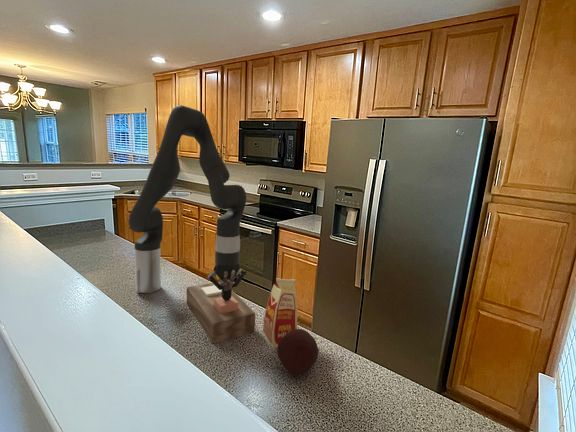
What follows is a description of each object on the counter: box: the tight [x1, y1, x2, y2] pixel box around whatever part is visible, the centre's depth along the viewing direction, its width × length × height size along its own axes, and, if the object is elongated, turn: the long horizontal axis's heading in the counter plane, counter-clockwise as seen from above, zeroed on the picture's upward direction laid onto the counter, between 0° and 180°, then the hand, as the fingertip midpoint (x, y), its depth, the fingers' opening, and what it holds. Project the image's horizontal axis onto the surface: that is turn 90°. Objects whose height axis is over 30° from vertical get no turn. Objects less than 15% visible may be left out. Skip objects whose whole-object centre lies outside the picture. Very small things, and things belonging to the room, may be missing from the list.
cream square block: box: [201, 285, 222, 297], centre depth 113 cm, size 6×6×4 cm
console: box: [186, 281, 257, 344], centre depth 108 cm, size 14×28×6 cm, turn 33°
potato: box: [276, 328, 319, 378], centre depth 84 cm, size 11×13×10 cm
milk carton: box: [262, 277, 298, 349], centre depth 97 cm, size 9×9×20 cm
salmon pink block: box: [214, 295, 238, 314], centre depth 102 cm, size 6×6×4 cm
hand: (226, 299), depth 101 cm, fingers closed
